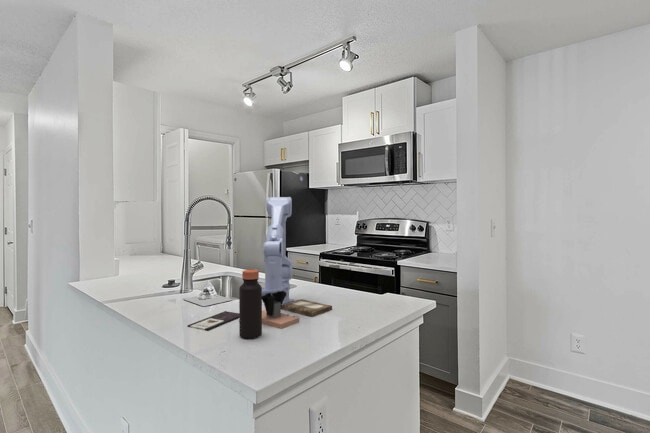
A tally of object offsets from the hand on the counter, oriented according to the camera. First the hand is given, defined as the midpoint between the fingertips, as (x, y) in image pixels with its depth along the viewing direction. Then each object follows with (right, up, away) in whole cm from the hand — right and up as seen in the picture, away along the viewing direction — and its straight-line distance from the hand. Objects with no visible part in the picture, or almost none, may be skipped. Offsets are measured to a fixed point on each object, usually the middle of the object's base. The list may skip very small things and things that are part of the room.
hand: (273, 313), depth 126 cm
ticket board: (+11, -2, +14) cm, 18 cm away
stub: (0, -2, 0) cm, 2 cm away
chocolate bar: (-19, -3, 0) cm, 20 cm away
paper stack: (-38, -2, +26) cm, 46 cm away
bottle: (-5, -3, -14) cm, 16 cm away
